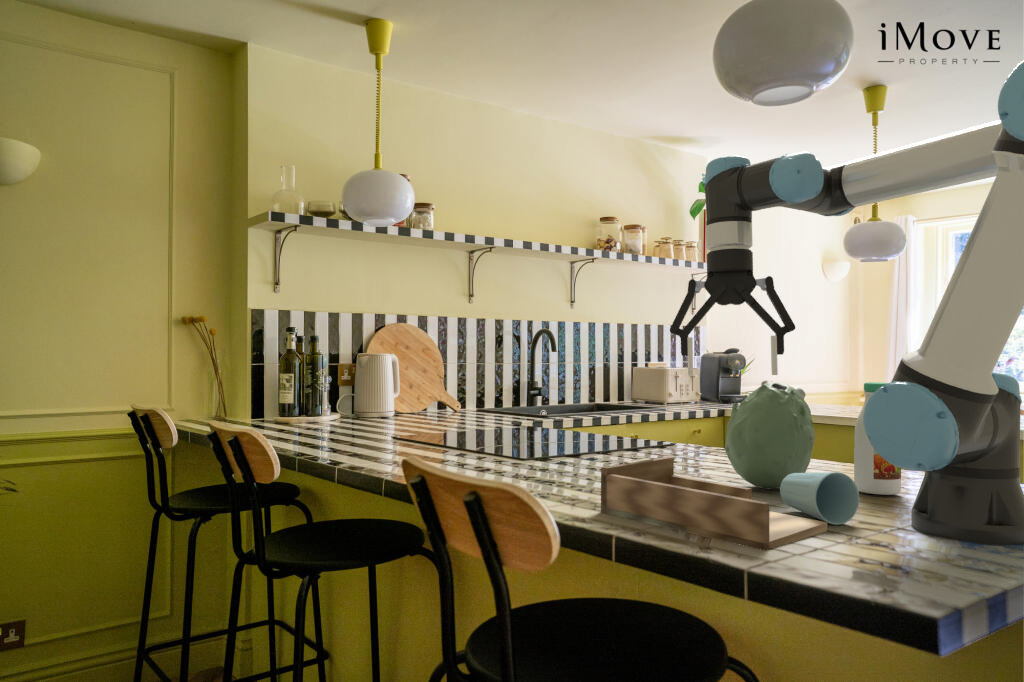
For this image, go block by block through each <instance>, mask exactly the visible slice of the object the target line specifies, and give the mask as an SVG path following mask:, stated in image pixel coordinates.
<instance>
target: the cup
mask: <svg viewBox="0 0 1024 682" xmlns="http://www.w3.org/2000/svg"><path fill="white" fill-rule="evenodd" d="M859 492H860V491H858V489H857V486H856V484H855V483H854V479H852V477H850V476H849V475H847V474H845V473H843V472H840V471H839V472H838V471H837V472H836V471H835V472H834V471H833V472H831V471H830V472H829V471H828V472H805V473H793V474H789V475H787V476H786V477H785V478H784V479H783V481H782V483H781V486H780V488H779V495H780V497H781V499H782V501H783V502H784V503H785V504H786V505H787V506H788V507H790V508H793V509H795V510H796V511H799V512H801V513H804V514H807V515H808V516H812V517H814V518H816V519H818V520H820V521H823V522H827V524H831V525H833V526H837V525H838V526H839V525H840V526H841V525H844V524H846V523H848V522H850V521H851V520H852V519H853V517H854V516H855V515H856V513H857V512H858V508H859V505H860V493H859Z"/></svg>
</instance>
